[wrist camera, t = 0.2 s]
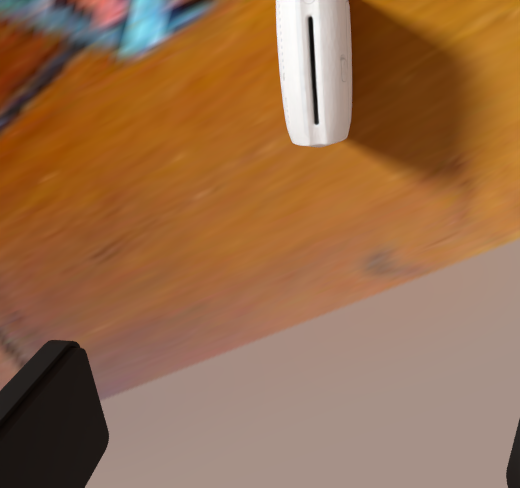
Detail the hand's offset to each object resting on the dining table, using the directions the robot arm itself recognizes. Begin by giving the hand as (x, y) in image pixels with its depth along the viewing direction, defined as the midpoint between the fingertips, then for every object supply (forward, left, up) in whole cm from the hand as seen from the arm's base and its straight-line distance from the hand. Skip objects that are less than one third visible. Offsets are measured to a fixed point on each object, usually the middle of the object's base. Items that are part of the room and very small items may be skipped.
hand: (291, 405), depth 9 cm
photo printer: (-6, 0, -31) cm, 32 cm away
